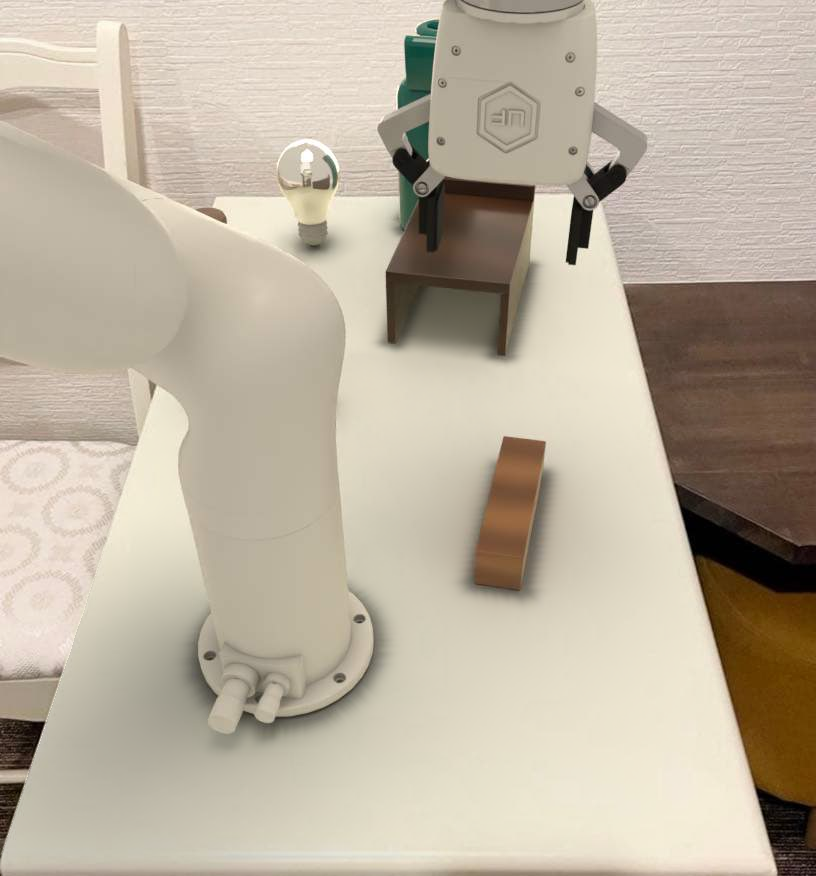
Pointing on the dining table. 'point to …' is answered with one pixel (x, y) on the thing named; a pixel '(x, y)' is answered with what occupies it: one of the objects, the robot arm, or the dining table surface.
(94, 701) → the dining table surface
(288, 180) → the light bulb
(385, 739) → the dining table surface
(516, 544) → the brown wooden bar
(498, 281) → the shelf
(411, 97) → the green glass bottle
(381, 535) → the dining table surface
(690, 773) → the dining table surface
